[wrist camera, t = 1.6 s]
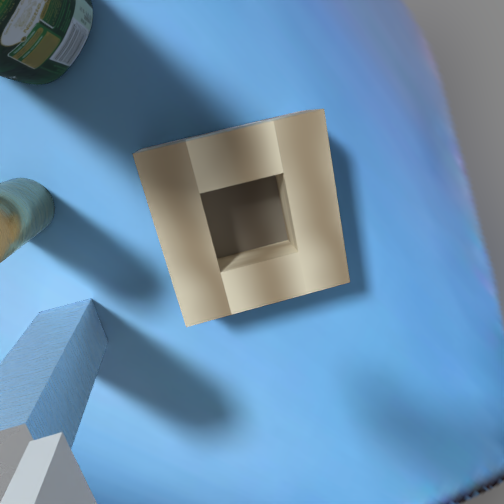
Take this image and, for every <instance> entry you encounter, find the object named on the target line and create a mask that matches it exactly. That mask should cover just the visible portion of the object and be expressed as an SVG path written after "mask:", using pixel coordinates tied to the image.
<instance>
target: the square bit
mask: <svg viewBox="0 0 504 504" xmlns="http://www.w3.org/2000/svg"><path fill="white" fill-rule="evenodd" d="M107 344H108V340H107V337H106V335H105V332H104V330H103V327H102V325H101V322H100V319H99V317H98V314H97V312H96V309H95V307H94V304H93V301H92V299H87V300H83V301H79V302H76V303H72V304H68V305H64V306H60V307H57V308H53V309H49V310H45V311H41V312H39V314H38V315H37V316H36V317H35V319H34V320H33V321H32V323H31V324H30V325H29V327H28V328H27V329H26V331H25V332H24V333H23V335H22V336H21V337H20V338H19V340H18V341H17V342H16V344H15V345H14V346H13V348H12V349H11V350H10V352H9V353H8V354H7V356H6V357H5V358H4V360H3V361H2V362H1V363H0V502H1V500H2V498H3V496H4V494H5V492H6V490H7V488H8V486H9V484H10V482H11V480H12V477H13V475H14V473H15V471H16V469H17V467H18V465H19V463H20V461H21V459H22V457H23V455H24V452H25V450H26V448H27V446H28V444H29V442H30V441H33V440H37V439H40V438H43V437H47V436H50V435H54V434H57V433H61V432H63V434H64V436H65V438H66V441H67V443H68V445H69V447H70V449H71V448H72V445H73V442H74V439H75V437H76V434H77V431H78V428H79V425H80V422H81V419H82V416H83V413H84V411H85V408H86V405H87V402H88V399H89V396H90V393H91V390H92V387H93V385H94V382H95V379H96V376H97V373H98V370H99V367H100V364H101V361H102V359H103V356H104V353H105V350H106V347H107Z"/></svg>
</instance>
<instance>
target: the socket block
mask: <svg viewBox="0 0 504 504" xmlns="http://www.w3.org/2000/svg"><path fill="white" fill-rule="evenodd" d="M133 157H134V161H135V164H136V167H137V170H138V174H139V177H140V180H141V183H142V186H143V190H144V193H145V196H146V199H147V203H148V206H149V209H150V212H151V215H152V219H153V222H154V225H155V228H156V231H157V235H158V238H159V241H160V244H161V248H162V251H163V254H164V257H165V260H166V264H167V267H168V270H169V273H170V277H171V280H172V283H173V286H174V289H175V293H176V296H177V299H178V302H179V305H180V309H181V312H182V315H183V318H184V322H185V325H186V327H188V326H192V325H196V324H199V323H203V322H207V321H210V320H214V319H218V318H221V317H225V316H229V315H232V314H236V313H239V312H243V311H247V310H250V309H254V308H258V307H261V306H265V305H269V304H272V303H276V302H280V301H283V300H287V299H291V298H294V297H298V296H302V295H305V294H309V293H313V292H316V291H320V290H324V289H327V288H331V287H335V286H338V285H342V284H346V283H349V282H350V279H349V272H348V266H347V259H346V252H345V246H344V239H343V232H342V226H341V219H340V212H339V206H338V199H337V192H336V186H335V179H334V173H333V166H332V159H331V153H330V146H329V139H328V133H327V126H326V119H325V113H324V109H316V110H305V111H299V112H295V113H290V114H286V115H282V116H278V117H273V118H269V119H265V120H261V121H256V122H252V123H248V124H244V125H239V126H235V127H231V128H227V129H222V130H218V131H214V132H210V133H206V134H201V135H197V136H193V137H189V138H184V139H180V140H176V141H172V142H167V143H163V144H159V145H155V146H150V147H146V148H142V149H140V150H138V151H137V152H135V153H133Z"/></svg>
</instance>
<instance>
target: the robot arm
mask: <svg viewBox="0 0 504 504" xmlns="http://www.w3.org/2000/svg"><path fill="white" fill-rule="evenodd" d="M0 504H97V503H96V501H95V499H94V497H93V494H92V492H91V490H90V488H89V486H88V484H87V482H86V480H85V478H84V476H83V474H82V472H81V470H80V468H79V465H78V463H77V461H76V459H75V457H74V455H73V453H72V451H71V449H70V447H69V445H68V443H67V441H66V438H65V436H64V434H63V432H61V433H57V434H54V435H50V436H47V437H43V438H40V439H37V440H33V441H30V442H29V444H28V446H27V448H26V450H25V452H24V455H23V457H22V459H21V461H20V463H19V465H18V467H17V469H16V471H15V473H14V475H13V477H12V480H11V482H10V484H9V486H8V488H7V490H6V492H5V494H4V496H3V498H2V500H1V502H0Z"/></svg>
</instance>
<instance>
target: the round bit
mask: <svg viewBox="0 0 504 504" xmlns="http://www.w3.org/2000/svg"><path fill="white" fill-rule="evenodd" d="M54 212H55V206H54V202H53V199H52V197H51V195H50V193H49V192H48V191H47V190H46V189H45V188H44V187H43V186H42V185H41V184H39V183H37V182H35V181H33V180H30V179H26V178H15V179H11V180H8V181H5V182H2V183H0V263H1V262H2V261H3V260H5V259H6V258H7V257H8V256H10V255H11V254H12V253H14V252H15V251H16V250H18V249H19V248H20V247H21V246H23V245H24V244H25V243H27V242H28V241H29V240H31V239H32V238H33V237H34V236H36V235H37V234H38V233H40V232H41V231H42V230H44V229H45V228H46V227H47V226H48V225H49V224H50V223H51V221H52V219H53V217H54Z"/></svg>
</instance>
